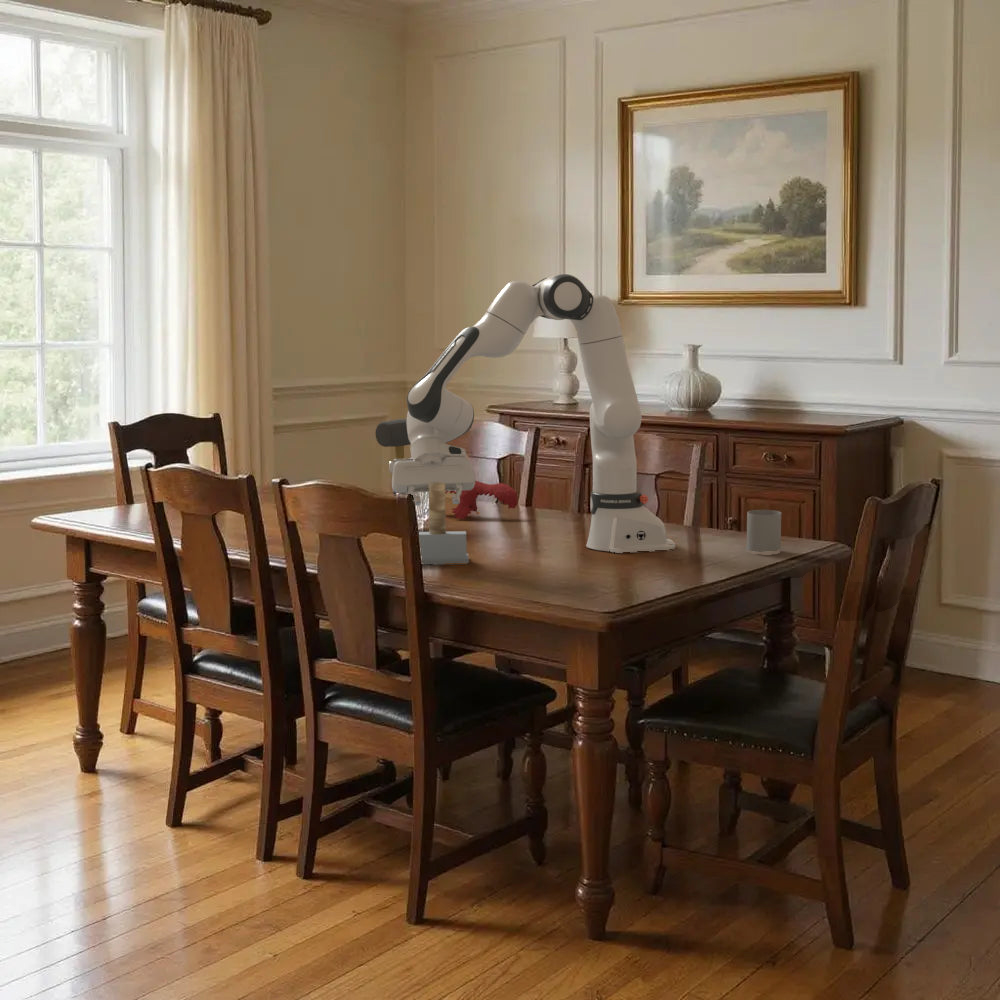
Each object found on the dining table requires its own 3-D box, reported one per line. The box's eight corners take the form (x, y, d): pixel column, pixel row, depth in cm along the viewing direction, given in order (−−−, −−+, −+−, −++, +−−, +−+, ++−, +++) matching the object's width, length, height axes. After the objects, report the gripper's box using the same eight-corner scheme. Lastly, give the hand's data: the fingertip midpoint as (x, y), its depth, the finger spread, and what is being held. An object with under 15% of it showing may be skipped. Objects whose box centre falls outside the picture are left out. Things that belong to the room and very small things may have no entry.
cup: (784, 550, 348) (785, 511, 347) (776, 556, 341) (777, 516, 339) (751, 548, 352) (751, 509, 350) (742, 553, 344) (743, 513, 343)
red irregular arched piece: (512, 536, 396) (525, 492, 404) (502, 517, 389) (516, 474, 396) (423, 529, 407) (438, 487, 415) (412, 511, 400) (427, 469, 408)
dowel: (445, 531, 338) (445, 482, 336) (445, 534, 334) (445, 484, 332) (429, 531, 337) (428, 482, 336) (429, 534, 333) (428, 484, 332)
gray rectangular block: (468, 558, 340) (467, 530, 339) (468, 563, 333) (468, 535, 332) (406, 559, 340) (406, 531, 338) (406, 564, 333) (405, 536, 332)
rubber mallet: (393, 531, 379) (391, 421, 375) (374, 528, 384) (372, 419, 380) (426, 525, 388) (424, 418, 384) (408, 522, 393) (406, 416, 389)
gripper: (388, 451, 337) (395, 497, 329) (471, 448, 341) (480, 493, 333) (386, 467, 342) (393, 512, 334) (468, 464, 346) (476, 509, 338)
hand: (437, 503), depth 334 cm, fingers open, 8 cm apart
